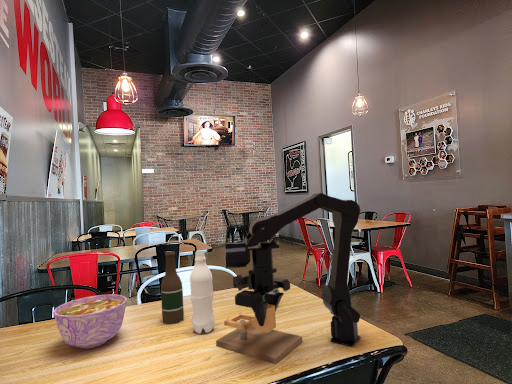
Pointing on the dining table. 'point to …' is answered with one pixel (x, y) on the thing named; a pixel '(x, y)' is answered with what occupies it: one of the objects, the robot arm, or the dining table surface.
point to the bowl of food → (90, 319)
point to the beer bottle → (171, 293)
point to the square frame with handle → (254, 321)
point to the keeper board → (260, 343)
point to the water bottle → (201, 295)
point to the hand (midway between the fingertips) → (265, 323)
